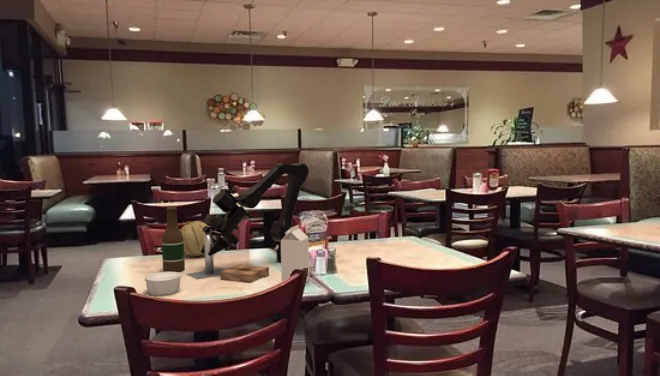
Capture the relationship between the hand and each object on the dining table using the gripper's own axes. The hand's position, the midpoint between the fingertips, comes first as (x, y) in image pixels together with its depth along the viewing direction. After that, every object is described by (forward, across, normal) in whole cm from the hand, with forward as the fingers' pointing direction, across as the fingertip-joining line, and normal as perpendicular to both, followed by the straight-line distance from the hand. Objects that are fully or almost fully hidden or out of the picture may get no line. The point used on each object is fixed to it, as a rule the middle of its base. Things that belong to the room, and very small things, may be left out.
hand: (205, 254), depth 192 cm
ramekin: (+20, +11, -8) cm, 24 cm away
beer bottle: (+10, -13, +1) cm, 17 cm away
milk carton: (-7, +30, +18) cm, 36 cm away
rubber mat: (+4, 0, +6) cm, 8 cm away
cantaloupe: (-2, -33, +14) cm, 36 cm away
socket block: (-1, +13, +11) cm, 17 cm away
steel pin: (+4, 0, +6) cm, 7 cm away
